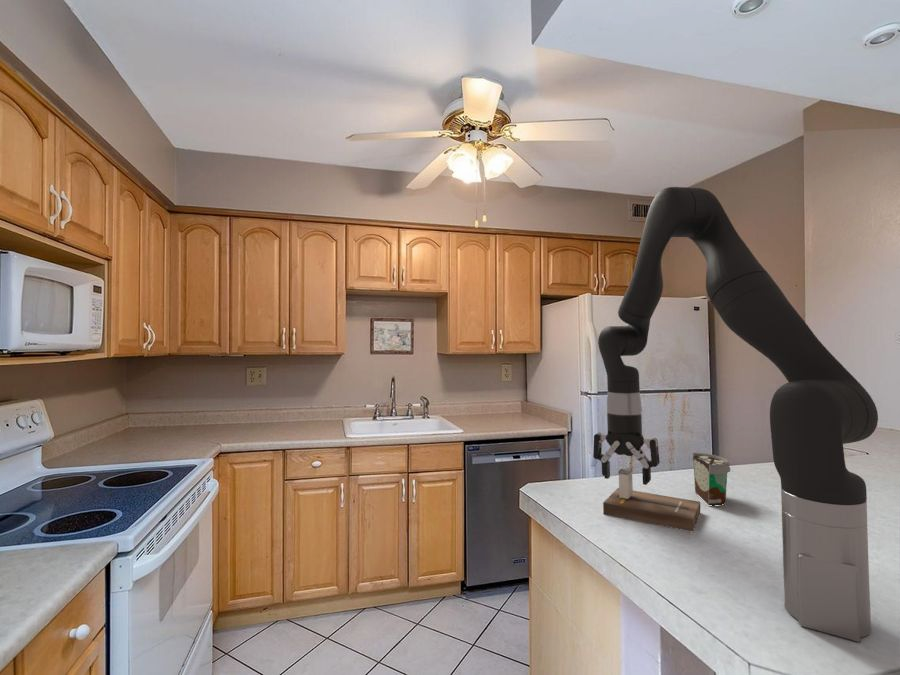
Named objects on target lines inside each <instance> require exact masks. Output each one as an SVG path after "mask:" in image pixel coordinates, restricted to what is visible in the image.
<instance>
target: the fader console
mask: <svg viewBox="0 0 900 675" xmlns="http://www.w3.org/2000/svg"><path fill="white" fill-rule="evenodd" d="M602 504H603V506H602V507H603V515H608V516H613V517H617V518H623V519H628V520H633V521H638V522H642V523H647V524H648V523H649V524H652V525H657V526H661V525H662V526H663V527H666V526H667V528H671V527H672V529H676V528H677V529H678V530H681V529H682V530H683V531H686V530H687V531H686V532H691V531H693V532H694V531H695V529H694V528H696V526H697V523H698V521H697V520H699V518H700V516H699V515H701V513H700V512H701V501H698V500H697V501H696V500H691V499H686V498H680V497H674V496H668V495H661V494H657V493H650V492H644V491H639V490H633V494H632V495H631V496H630V498H629V499H626V498H621V497H619V487H617V488H616V489H615V490H614V491H613V492H612V493H611V494H610V495H609V496H608V497H607V498H606V499H605V500H604V501H603V503H602ZM698 517H699V518H698ZM695 525H696V526H695ZM677 529H676V530H677Z"/></svg>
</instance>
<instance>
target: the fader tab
mask: <svg viewBox="0 0 900 675" xmlns="http://www.w3.org/2000/svg"><path fill="white" fill-rule="evenodd" d="M618 488H619V497H621V498H626V499H629V498H630V496H631V495H632V494H633V491H634V489H633V488H634V487H633V467H626V466H622V467H621V468H620V469H619V470H618Z"/></svg>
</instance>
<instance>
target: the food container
mask: <svg viewBox="0 0 900 675" xmlns="http://www.w3.org/2000/svg"><path fill="white" fill-rule="evenodd" d="M692 461H693V476H694V477H693V478H694V479H693V480H694V493H695V494H696V496H698V495H699V496H700V497H701V498H702V499H703V500H704V501H705V502H706V503H707V504H708V505H712V506H715V505H722V504H724V503H725V502H727V500H726V499H727V487H728V486H727V484H728V480H727V479H728V473H730V472H731V466H730V463H729V462H728V459H727V458H724V457H722V456H719V455H715V454H710V453H709V454H708V453H703V452H702V453H701V452H692ZM699 496H698V497H699ZM700 497H699V498H700ZM701 498H700V499H701ZM702 499H701V500H702ZM703 500H702V501H703ZM704 501H703V502H704ZM705 502H704V503H705ZM706 503H705V504H706ZM707 504H706V505H707ZM725 504H726V503H725ZM725 504H724V505H725ZM708 505H707V506H708ZM712 506H711V507H712ZM722 506H723V505H722ZM715 507H716V506H715Z"/></svg>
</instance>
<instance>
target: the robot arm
mask: <svg viewBox="0 0 900 675" xmlns="http://www.w3.org/2000/svg"><path fill="white" fill-rule="evenodd" d="M648 208H649V209H648V211H647V214H646V215H647V216H646V219H645V222H644V227H643V230H642V234H641V239H640V243H639V246H638V251H637V256H636V261H635V266H634V269H633V271H632V275H631V279H630V280H629V283H628V285H627V286H628V287H627V289H626V290H625V293H624V295H623V298H622V300H621V302H620V304H619V307H618V309H617V310H618V311H617V315H618V318H619V319H620V320H621V321H622V322H623V323H625V324H627V325H612V326H611V325H610V326H606V327H604V328H603V329H602V330H601V331H600V333H599V335H598V342H597V344H598V348H599V353H600V355H601V358H602V362H603V365H604V369H605V372H606V380H607V382H606V384H607V396H606V397H607V398H606V417H607V418H606V419H607V434H603V433H601V432H597V433H596V434H594V436H593V454H592V455H593V459H594V460H598V461H600V462H601V474H602V476H603V477H604V479H606V480H607V479H610V478H611V461H609V460H610V459H611V458H612V456H613V455H614V454H616V455H617V456H623V455H624V456H627V457H632V456H634V457H635V458H636V460H637V461H639V462H640V464H641V466H642V470H641V471H642V473H641V474H642V485H645V486H647V485H648V483H650V481H651V480H652V474H651V473H652V469H651V468H655V467H657V466H659V465H660V463H661V462H660V461H661V460H660V452H659V450H660V449H659V445H658V444H659V443H658V439H657V438H656V437H653V438H644V436H643V422H642V421H643V419H642V418H643V416H642V411H643V407H642V399H641V395H640V394H641V393H640V392H641V391H640V373H639V370H638V368H637V367H634V366H630V365H626V364H625V363H624V361H623V359H622V357H627V356H629V357H632V356H637V355H639V354H640V353H642V352H643V351H644V350H645V348H646V346H647V344H648V338H649V331H650V326H651V325H650V323H651V319H652V317H653V314H654V312H655V310H656V308H657V306H658V305H659V302H660V300H661V298H662V295H663V291H664V290H663V289H664V280H663V271H662V260H663V253H664V251H665V250H666V247H667V245H668V243H669V242H670V240H671V239H672V238H688V239H690V240H691V241H692V242H693V243H695V245H696V246H697V249H699V250H700V252H701V254H702V255H703V257H704V258H705V261H706V272H705V273H706V274H705V291H706V294H707V297H708V299H709V300H710V302H711V305H712V306H713V307H714V309H715V310H716V313H718V315H719V316H720V318H721V320H722V321H723V323H724V324H725V325H726V326H727V327H728V329H729V330H730V331H732V332H733V333H734V334H735V335H737V337H738V338H740V339H741V340H742V341H744V342H745V343H746V344H748V345H750V346H751V347H752V348H754V349H755V350H756V351H758V352H759V353H761V354H762V355H763V356H765V357H766V358H767V359H768V360H770V362H772V363H773V364H774V365H775V366H776V367H777V368H778V370H779V371H780V372H781V374H782V375H783V376H784V378H785V379H786V381H787V383H785V384H782V385H781V386H779V387H778V389H776V391H775V392H774V394H773V396H772V398H771V401H770V406H769V425H770V426H769V427H770V437H771V447H772V448H771V449H772V460H773V464H774V467H775V469H776V472H777V474H778V475H779V477H780V490H781V491H780V492H781V493H780V495H781V496H780V497H781V527H782V528H781V531H782V534H781V535H782V537H781V538H782V560H783V561H782V566H783V567H782V570H783V592H784V607H785V610H786V611H787V612H788V613H789V614H790V616H791V617H793V618H794V619H796V620H797V621H798V625H800V626H802V627H804V628H808V629H811V630H815V631H819V632H822V633H826V634H829V635H832V636H837V637H840V638H844V639H847V640H851V641H854V642H859V643H860V642H862V638H863V637H865V636H868V635H869V634H871V632H872V620H871V598H870V597H871V596H870V595H871V594H870V567H869V566H870V565H869V563H870V562H869V541H868V540H869V538H868V537H869V535H868V504H867V503H868V502H867V501H868V500H867V499H868V498H867V485H866V482H865V479H863V478H862V477H861V476H859V475H858V474H856V473H854V472H851V471H849V470H848V468H847V467H846V460H845V452H844V444H852V443H853V444H854V443H856V442H857V443H858V442H860V441H861V442H862V441H863V440H866V439H869V438H870V437H871V436H872V435H873V433H875V431H876V429H877V427H878V423H879V422H878V421H879V415H878V410H877V409H878V408H877V406H876V404H875V401H874V400H873V398H872V396H871V394H870V393H869V392H868V391H867V389H865V387H863V386H864V385H862V384H861V383H860V382H859V381H858V380H857V379H856V378H855V376H854V375H852V374H851V373H850V372H849V370H847V368H845V367H844V366H843V364H842V363H841V362H840V361H839V360H838V359H837V358H836V357H835V356H834V355H833V354H832V353H831V352H830V351H829V350H828V349H827V347H826V346H824V344H823V343H822V342H821V341H820V340H819V338H818V337H817V336H816V335H815V334H814V332H813V330H812V329H811V328H810V326H809V325H808V324H807V323H806V321H805V320H804V319H803V317H802V316H801V315H800V314H799V312H798V311H797V310H796V308H794V306H793V305H792V304H791V302H790V301H789V300H788V299H787V297H786V294H784V293H783V290H781V288H780V287H779V285H778V284H777V282H775V280H774V279H773V278H772V276H771V275H770V274H769V273H768V271H767V270H766V269H765V268H764V267H763V266H762V264H761V263H760V262H759V260H758V259H757V258H756V257H755V255H754V254H753V252H752V251H751V250H750V248H749V247H748V245H747V244H746V243H745V242H744V240H743V239H742V238H741V236H740V235H739V234H738V232H737V230H736V228H735V226H734V225H733V223H732V222H731V220H730V218H729V216H728V214H727V213H726V211H725V209H724V207H723V205H722V204H721V202H720V200H719V199H718V198H717V196H716V195H715V194H714V193H712V192H711V191H710V190H708V189H705V188H701V187H700V188H699V187H686V186H683V187H682V186H681V187H679V186H669V187H665V188H663V189H661V190H660V191H659V192H658V193H656V195H655V197H653V199H652V200H651V204H650V206H649V207H648ZM605 441H606V443H607V444H608V445H609V446H610V447H609V448H608V449H607V450H606V452H605V453H603V454H602V451H603V450H602V448H603V447H602V445H603V443H605ZM644 444H645V445H646V447H647V448H648V449H649V452H650V459H649V458H648V457H647V455H646V453H645V452H644V451H643V449H642V447H643V446H644Z"/></svg>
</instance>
